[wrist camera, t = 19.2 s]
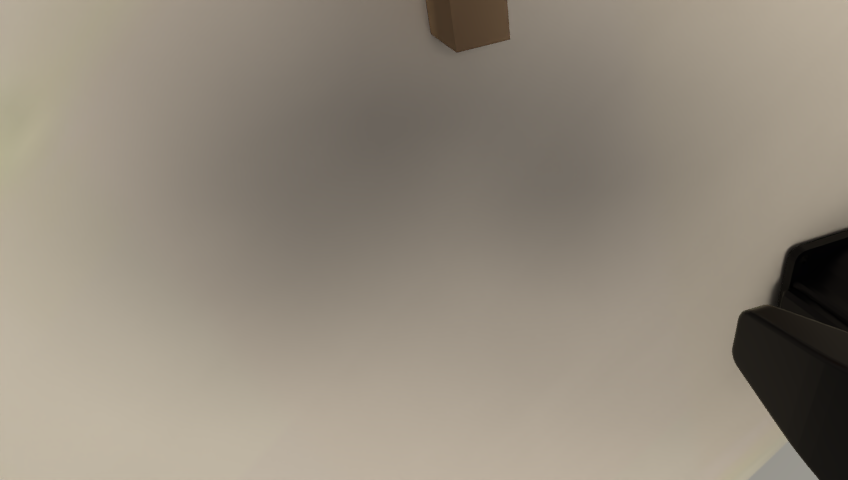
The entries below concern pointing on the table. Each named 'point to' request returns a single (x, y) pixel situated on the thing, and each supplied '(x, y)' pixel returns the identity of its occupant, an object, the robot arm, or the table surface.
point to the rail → (468, 22)
